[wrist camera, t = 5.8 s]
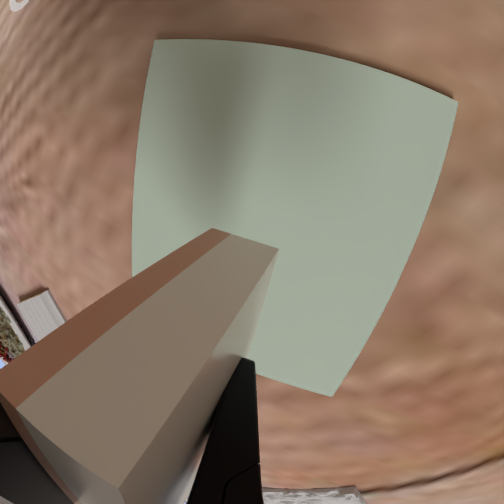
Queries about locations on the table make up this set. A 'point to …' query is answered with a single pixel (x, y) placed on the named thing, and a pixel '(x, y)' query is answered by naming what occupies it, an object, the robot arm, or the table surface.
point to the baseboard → (41, 314)
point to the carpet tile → (311, 496)
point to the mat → (290, 185)
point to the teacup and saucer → (17, 5)
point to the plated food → (10, 335)
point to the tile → (141, 374)
